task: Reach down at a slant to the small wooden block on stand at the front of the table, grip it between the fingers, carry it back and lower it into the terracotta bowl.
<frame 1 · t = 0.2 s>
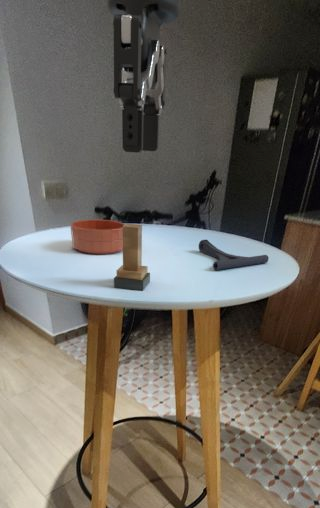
hand: (141, 151, 45), 20 cm above the table, tool pointing down, fingers open, 8 cm apart
dark branching pipe: (221, 259, 82), on the table
wooden block on stand: (132, 284, 65), on the table
bowl: (99, 248, 84), on the table
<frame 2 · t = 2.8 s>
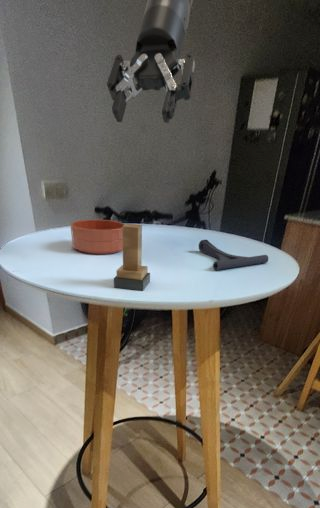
hand: (140, 118, 60), 24 cm above the table, tool tilted 40°, fingers open, 8 cm apart
nothing on the table moved.
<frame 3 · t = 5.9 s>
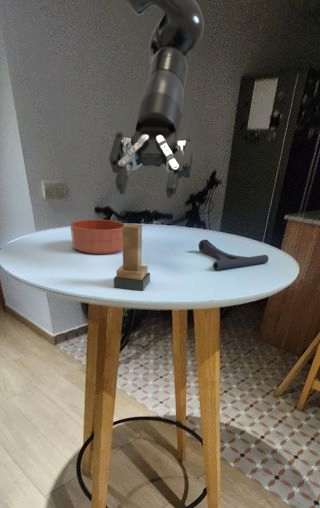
hand: (144, 192, 63), 13 cm above the table, tool tilted 45°, fingers open, 8 cm apart
nothing on the table moved.
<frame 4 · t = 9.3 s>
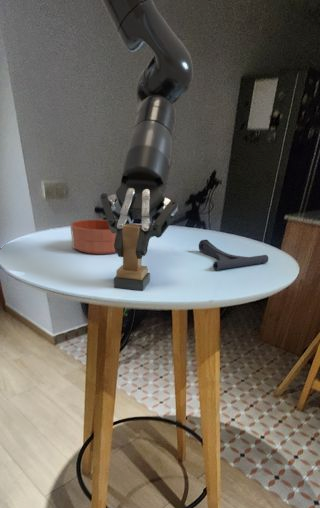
hand: (129, 254, 60), 5 cm above the table, tool tilted 45°, fingers closed on wooden block on stand, 2 cm apart
wooden block on stand: (132, 284, 65), on the table, touching gripper
everything else where it was.
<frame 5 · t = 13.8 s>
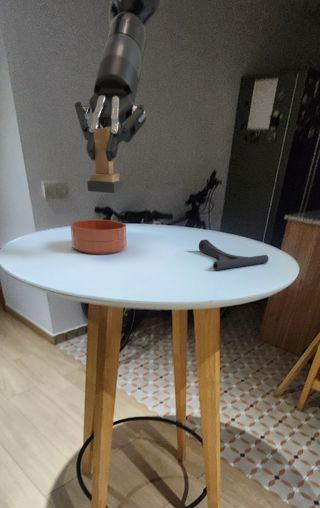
hand: (100, 156, 66), 18 cm above the table, tool tilted 45°, fingers closed on wooden block on stand, 2 cm apart
wooden block on stand: (105, 190, 70), point 12 cm above the table, touching gripper
everything else where it was.
when the fingers open (6 cm above the table, at t = 18.5 s): wooden block on stand stays where it is, resting on bowl.
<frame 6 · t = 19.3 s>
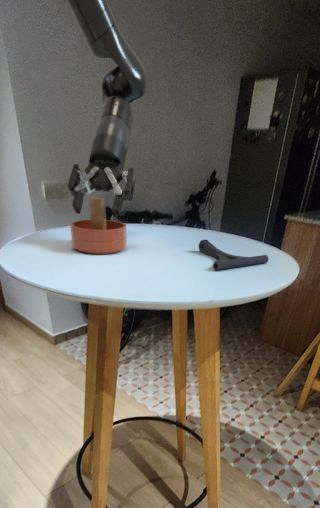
hand: (95, 212, 79), 7 cm above the table, tool tilted 45°, fingers open, 8 cm apart
wooden block on stand: (99, 245, 84), point 1 cm above the table, touching bowl
everything else where it was.
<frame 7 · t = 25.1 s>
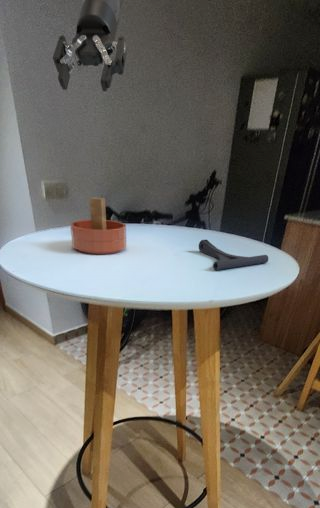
hand: (83, 86, 73), 29 cm above the table, tool tilted 45°, fingers open, 8 cm apart
nothing on the table moved.
at the end: wooden block on stand inside the target area in the bowl (0.1 cm from its centre), point 0.6 cm above the bowl's base; the gripper is holding nothing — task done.
